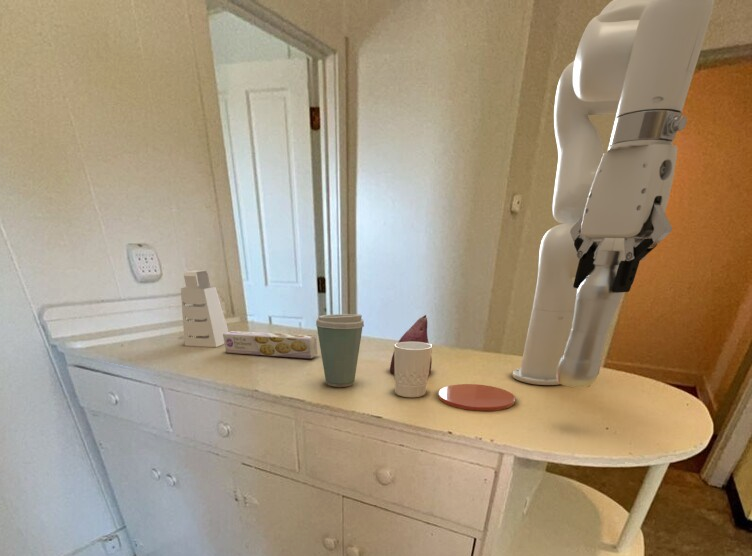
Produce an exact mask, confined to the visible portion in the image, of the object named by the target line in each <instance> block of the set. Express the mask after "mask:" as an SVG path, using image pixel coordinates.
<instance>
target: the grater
mask: <svg viewBox="0 0 752 556" xmlns="http://www.w3.org/2000/svg"><path fill="white" fill-rule="evenodd" d="M183 278H184V282H185V287H181V288H180V297H181V298H180V299H181V311H182V325H183V326H182V327H183V341H184V346H188V347H189V346H190V347H204V348H205V347H206V348H207V347H208V348H217V347H220V346H223V345H225V343H224V338H223V334H224V333H228V332H230V331H229V327H228V324H227V320H226V318H225V314H224V310H223V307H222V304H221V300H220V297H219V293H218V290H217V287H216V286H211V285H210V278H209V274H208V272H207V270H187V271H184V274H183Z"/></svg>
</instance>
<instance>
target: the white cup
mask: <svg viewBox="0 0 752 556" xmlns="http://www.w3.org/2000/svg"><path fill="white" fill-rule="evenodd" d="M393 346H394V348H393V349H394V350H393V353H394V369H395V371H394V374H393V375H394V393H395V394H396V395H397V396H400V397H403V398H420V397H423V396H425V395H426V391H427V385H428V381H429V375H430V374H429V369H430V361H431V358H432V354H433V353H432V352H433V345H432V344H431V343H429V344H428V343H423V342H400V343H398V342H396V343H395V344H394V345H393Z"/></svg>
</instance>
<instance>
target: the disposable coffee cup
mask: <svg viewBox="0 0 752 556" xmlns="http://www.w3.org/2000/svg"><path fill="white" fill-rule="evenodd" d="M315 321H316V322H315V326H316V329H317V336H318V342H319V348H320V353H321V361H322V368H323V372H324V373H323V374H324V377H325V378H324V380H325V382H326V385H328V386H329V387H335V388H347V387H351V386H353V385H354V382H355V380H356V373H357V366H358V359H359V353H360V348H361V347H360V346H361V341H362V335H363V334H362V333H363V328H364V327H365V323H364V319H363V318H362V314H358V313H357V314H354V313H344V314H338V313H336V314H323V315H319V316H318V318H316V320H315Z"/></svg>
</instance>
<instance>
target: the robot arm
mask: <svg viewBox="0 0 752 556" xmlns="http://www.w3.org/2000/svg"><path fill="white" fill-rule="evenodd" d="M714 6H715V0H611V1H610V2H609V3H608V4H607V5H605V7H603V8H602V10H601V12H600V13H599V14H598V15H596V16H594V17H593V18H592V19H591V20H590V21H589V22H588V24H587V26H586V27H585V29H584V31H583V33H582V35H581V38H580V40H579V43H578V46H577V49H576V53H575V57H574V60H573V61H572V62H570V63H568V64H567V66H566V67H565V68H564V69H563V71H562V73H561V75H560V77H559V80H558V83H557V87H556V92H555V97H554V106H553V107H554V108H553V128H554V135H555V141H556V146H557V156H558V157H557V166H556V173H555V174H556V175H555V181H554V188H553V197H552V217H553V219H554V220H555V221H556V222H557V223H558V224H557V225H554V226H552V227H551V228H549V229H548V230H547V231H546V232H545V234H544V235H543V236H542V239H541V241H540V245H539V253H538V267H537V279H536V280H537V281H536V286H535V291H534V292H535V293H534V299H533V303H532V309H531V314H530V319H529V324H528V327H527V328H528V329H527V334H526V339H525V344H524V348H523V354H522V358H521V362H520V363H521V364H520V367H519V368H516V369H514V370H513V371H512V374H511V375H512V378H513V379H515V380H517V381H518V382H522V383H525V384H531V385H538V386H559V385H561V384H560V383H558V381H557V378H556V372H557V367H558V364H559V362H560V360H561V358H562V356H563V354H564V351H565V348H566V345H567V342H568V339H569V336H570V332H571V329H572V322H573V317H574V310H575V302H576V297H577V296H576V294H577V290H578V288H579V286H580V284H581V283H582V281H583V280H584V279H585V278H586V276H587V275H588V274H589V273H590V272H591V271H592V270H593V269H594V266H595V264H593V262H594V260H595V256H596V252H597V250H612V251H624V254H623V258H622V261H621V262H620V263H619V267H618V270H617V274H616V277H615V281H614V284H613V288H612V291H613V292H615V293H620V292H623V293H629V292H630V291H631V289H632V285H633V283H634V281H635V279H636V278H635V277H636V275H637V271H638V269H639V265H640V262H642V261H644V260H645V259H646V257H647V256H648V254H650V253H651V252H652V251H653V250H654V249H655V248H656V247H657V246H658V244H660V243H661V242H662V241H663V240H664V239H665V238H666V237H667V236H668V235H669V234H671V233H672V231H673V226H672V225H671V223H670V221H669V219H668V217H667V215H666V210H667V208H668V207H667V206H668V202H669V199H670V194H671V190H672V185H673V181H674V176H675V170H676V166H677V165H676V164H677V158H678V157H677V155H678V145H675V144H673V142H674V140H675V137H676V134H677V133H678V132H680V131H683V130H684V129H685V128H686V125H687V121H688V118H687V115H683V110H684V106H685V103H686V100H687V97H688V93H689V89H690V87H691V84H692V81H693V77H694V75H695V74H694V73H695V70H696V67H697V64H698V60H699V57H700V54H701V51H702V47H703V44H704V42H705V41H704V40H705V38H706V34H707V30H708V28H709V25H710V21H711V18H712V14H713V10H714ZM608 115H609V116H610V115H615V118H614V122H613V126H612V130H611V134H610V139H609V141H608V147H607V151H606V152H604V141H603V139H602V137H601V135H600V132H599V131H598V129H597V127H596V126H595V124H594V123H593V122H592V121H591V120H590V118H589V116H608ZM573 278H574V281H573Z"/></svg>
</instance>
